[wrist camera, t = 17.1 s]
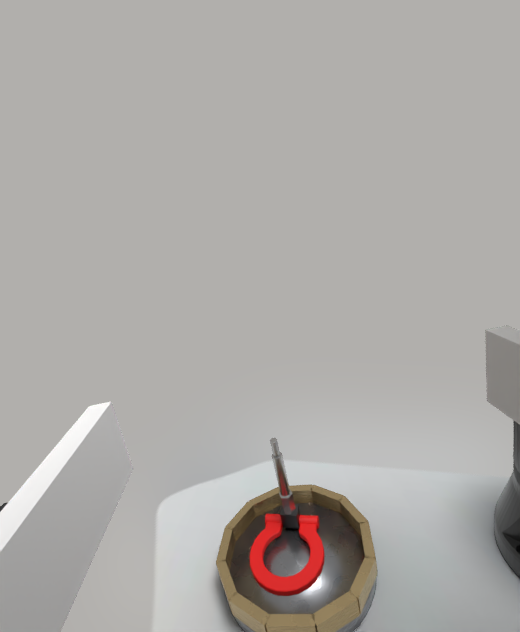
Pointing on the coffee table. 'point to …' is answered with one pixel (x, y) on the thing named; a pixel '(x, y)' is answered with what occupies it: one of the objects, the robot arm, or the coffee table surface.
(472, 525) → the coffee table surface
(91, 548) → the robot arm
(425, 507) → the coffee table surface
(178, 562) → the coffee table surface
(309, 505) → the wooden rimmed bowl
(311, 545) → the tow hook
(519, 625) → the coffee table surface
